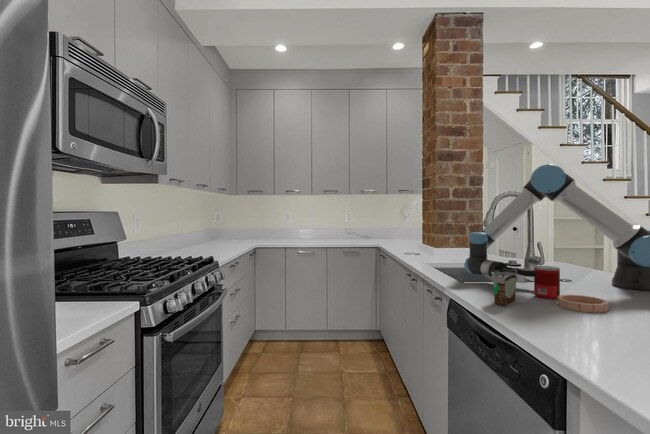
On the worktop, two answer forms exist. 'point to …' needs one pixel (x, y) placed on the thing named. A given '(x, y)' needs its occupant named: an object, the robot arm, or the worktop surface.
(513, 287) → the food container
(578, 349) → the worktop surface
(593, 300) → the ring dish
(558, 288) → the canned food
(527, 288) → the worktop surface
